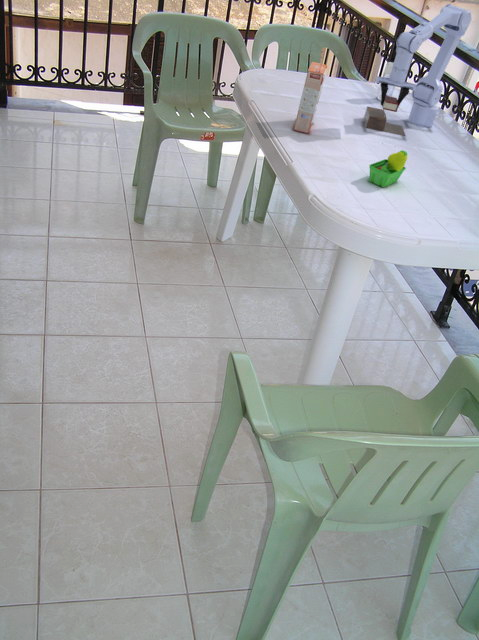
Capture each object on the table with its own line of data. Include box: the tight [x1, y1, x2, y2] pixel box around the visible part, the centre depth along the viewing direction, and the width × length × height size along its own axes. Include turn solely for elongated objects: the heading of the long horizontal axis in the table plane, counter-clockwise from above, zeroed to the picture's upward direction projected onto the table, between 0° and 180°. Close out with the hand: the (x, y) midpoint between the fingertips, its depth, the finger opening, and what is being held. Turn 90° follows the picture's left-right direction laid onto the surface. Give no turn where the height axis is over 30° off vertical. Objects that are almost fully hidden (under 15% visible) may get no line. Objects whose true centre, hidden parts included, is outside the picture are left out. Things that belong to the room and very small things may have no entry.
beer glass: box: [377, 61, 397, 102], centre depth 288 cm, size 7×7×15 cm
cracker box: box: [293, 61, 328, 135], centre depth 237 cm, size 14×6×21 cm, turn 168°
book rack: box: [363, 106, 407, 137], centre depth 254 cm, size 15×12×6 cm
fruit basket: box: [368, 149, 408, 188], centre depth 208 cm, size 11×9×11 cm
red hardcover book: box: [381, 96, 400, 113], centre depth 250 cm, size 5×8×3 cm, turn 175°
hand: (388, 106), depth 251 cm, fingers closed on red hardcover book, 5 cm apart
